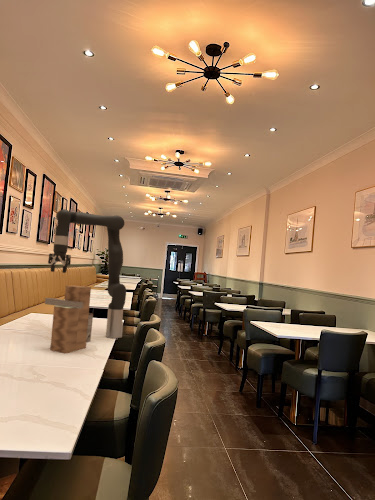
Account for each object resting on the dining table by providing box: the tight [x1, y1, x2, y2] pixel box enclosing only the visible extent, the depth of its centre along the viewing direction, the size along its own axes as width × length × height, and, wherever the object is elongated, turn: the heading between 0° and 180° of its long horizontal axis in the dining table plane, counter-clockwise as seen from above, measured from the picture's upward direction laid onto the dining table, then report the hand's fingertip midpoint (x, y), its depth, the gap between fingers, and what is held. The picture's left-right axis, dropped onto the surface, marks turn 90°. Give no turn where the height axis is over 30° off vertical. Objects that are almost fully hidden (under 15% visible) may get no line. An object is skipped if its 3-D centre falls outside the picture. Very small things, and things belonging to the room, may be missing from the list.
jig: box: [49, 285, 92, 354], centre depth 184 cm, size 10×15×32 cm, turn 157°
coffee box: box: [86, 312, 94, 343], centre depth 205 cm, size 9×6×16 cm
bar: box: [44, 297, 83, 309], centre depth 182 cm, size 22×3×3 cm, turn 67°
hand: (58, 272), depth 205 cm, fingers open, 8 cm apart
